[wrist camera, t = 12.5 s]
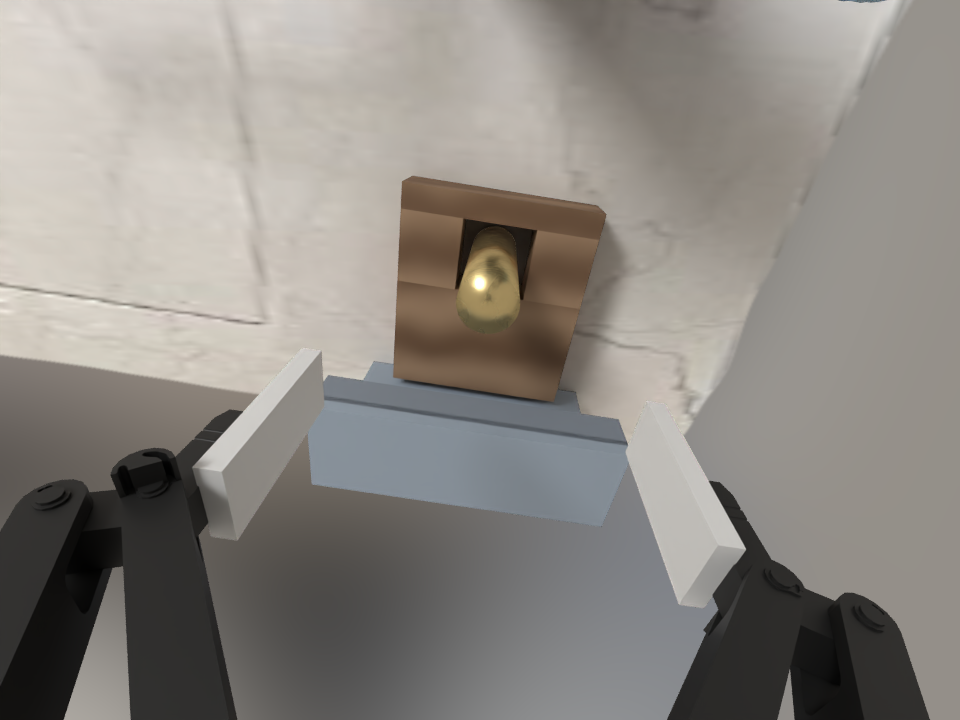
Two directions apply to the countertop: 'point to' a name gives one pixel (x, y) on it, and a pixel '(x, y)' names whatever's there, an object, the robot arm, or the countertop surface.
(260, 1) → the countertop surface
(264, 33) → the countertop surface
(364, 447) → the blue-grey hooked bracket
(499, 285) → the peg
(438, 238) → the socket block
